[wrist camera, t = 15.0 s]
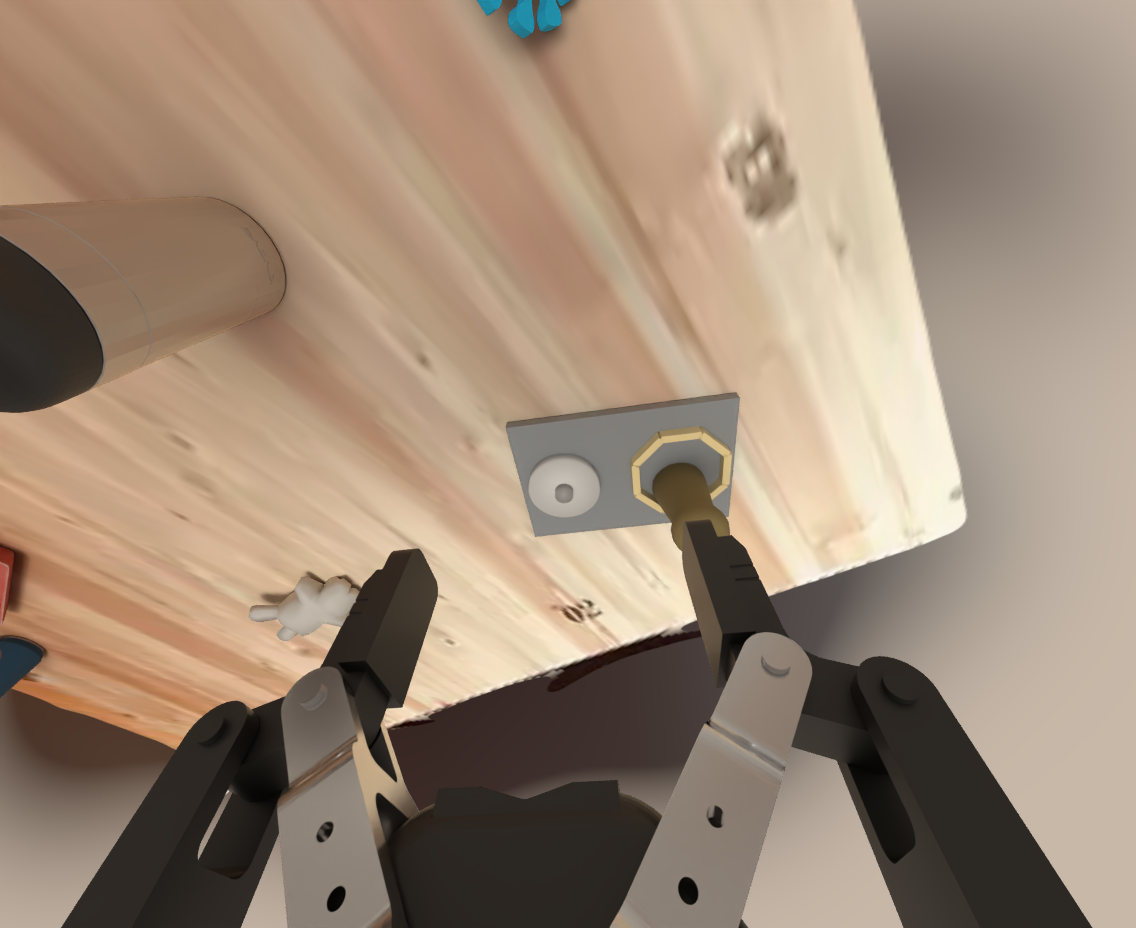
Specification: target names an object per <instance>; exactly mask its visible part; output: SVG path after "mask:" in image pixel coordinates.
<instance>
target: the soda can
mask: <svg viewBox="0 0 1136 928" xmlns="http://www.w3.org/2000/svg"><path fill="white" fill-rule="evenodd" d="M43 653H44V649H43V648H42V647H41V646H40V645H38V644H37V643H35V642H33V641H31V640H28V639H25V638H21V637H16V636H7V637H4V638H1V639H0V698H1V697H2V696H3V695H4V694H5V693H6V692H7V691H8V690H10V689H11V688H12V687H13V686H14V685H15V684H16V683H17V682H18V681H20V680H21V679H22V678H23V677H24V676H25V675H26V674H27V673H28V672H30V671H31V670H32V669H33V668H34V667H35V666H36V665H37V664H38V663H39V662H40V661H41V659H42V656H43Z"/></svg>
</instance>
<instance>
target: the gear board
mask: <svg viewBox="0 0 1136 928" xmlns="http://www.w3.org/2000/svg"><path fill="white" fill-rule="evenodd" d="M739 401H740V397H739V396H738V395H737V393H729V394H722V395H714V396H706V397H699V398H691V399H684V400H676V401H668V402H661V403H653V404H645V405H638V406H630V407H622V408H615V409H607V410H600V411H592V412H584V413H577V414H569V415H561V416H554V417H546V418H539V419H531V420H523V421H516V422H508V423H507V426H506V431H507V434H508V438H509V442H510V445H511V449H512V453H513V456H514V460H515V464H516V467H517V471H518V475H519V479H520V482H521V486H522V490H523V493H524V497H525V501H526V504H527V508H528V512H529V515H530V519H531V523H532V526H533V530H534V534H535V537H537V536H546V535H556V534H566V533H575V532H585V531H594V530H604V529H613V528H623V527H633V526H642V525H652V524H661V523H671V521H670V520H669V518H668V517H667V516H666V514H665V513H664V511H663V510H662V508H661V507H660V505H659V504H658V502H657V501H656V499H655V498H654V495H653V491H652V487H653V481H654V479H655V477H656V475H657V474H658V473H659V472H660V471H661V470H662V469H663V468H665V467H667V466H669V465H671V464H675V463H688V464H691V465H694V466H696V467H697V468H698V469H699V470H701V472H702V473H703V475H704V477H705V479H706V483H707V486H708V489H709V492H710V495H711V499H712V502H713V505H714V506H715V507H717V508H718V509H719V510H720V511H722V512H723V514H724V515H725V517H729V507H730V496H731V485H732V475H733V464H734V454H735V443H736V433H737V422H738V412H739Z"/></svg>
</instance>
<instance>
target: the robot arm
mask: <svg viewBox="0 0 1136 928" xmlns="http://www.w3.org/2000/svg"><path fill="white" fill-rule="evenodd" d="M284 290H285V273H284V268H283V264H282V261H281V259H280V256H279V254H278V252H277V250H276V248H275V246H274V245H273V243H272V241H271V240H270V238H269V237H268V236H267V235H266V233H265V232H264V231H263V230H262V228H261V227H260V226H259V225H258V224H257V223H255V222H254V221H253V220H252V219H251V218H250V217H249V216H248V215H246V214H245V213H243V212H242V211H240V210H239V209H238V208H236V207H234V206H232V205H230V204H228V203H226V202H224V201H221V200H217V199H213V198H209V197H182V198H153V199H132V200H110V201H89V202H67V203H46V204H24V205H3V206H0V412H9V413H21V412H29V411H35V410H40V409H44V408H47V407H50V406H53V405H56V404H58V403H61V402H63V401H66V400H68V399H70V398H72V397H75V396H77V395H79V394H82V393H84V392H86V391H89V390H91V389H93V388H95V387H98V386H100V385H102V384H105V383H107V382H109V381H112V380H114V379H116V378H118V377H121V376H123V375H125V374H128V373H130V372H132V371H134V370H136V369H138V368H141V367H143V366H145V365H148V364H150V363H152V362H155V361H157V360H159V359H161V358H164V357H166V356H168V355H171V354H173V353H175V352H178V351H180V350H182V349H185V348H187V347H189V346H191V345H194V344H196V343H198V342H201V341H203V340H205V339H208V338H210V337H212V336H214V335H217V334H219V333H221V332H224V331H226V330H228V329H231V328H233V327H235V326H238V325H240V324H243V323H245V322H247V321H249V320H251V319H254V318H256V317H258V316H260V315H263V314H265V313H267V312H269V311H272V310H273V309H274V308H275V307H276V306H277V305H278V304H279V302H280V301H281V299H282V297H283V294H284ZM682 560H683V569H684V574H685V578H686V582H687V585H688V589H689V592H690V596H691V599H692V603H693V606H694V610H695V613H696V617H697V620H698V624H699V627H700V631H701V634H702V638H703V641H704V645H705V648H706V652H707V655H708V659H709V662H710V666H711V669H712V673H713V677H714V680H715V683H716V687H717V688H720V687H725V688H724V690H723V693H722V695H721V697H720V699H719V702H718V704H717V706H716V709H715V711H714V713H713V715H712V717H711V719H710V720H709V721H707V722H706V723H705V725H704V726H703V728H702V730H701V732H700V734H699V736H698V738H697V740H696V743H695V745H694V747H693V749H692V751H691V754H690V756H689V758H688V760H687V763H686V765H685V767H684V769H683V771H682V774H681V776H680V778H679V780H678V783H677V785H676V787H675V789H674V792H673V794H672V796H671V798H670V801H669V803H668V805H667V807H666V809H665V812H664V814H663V816H662V815H661V814H660V813H658V812H657V811H656V810H655V809H654V808H652V807H651V806H649V805H648V804H646V803H644V802H643V801H641V800H639V799H636V798H635V797H632V796H630V795H626V794H623V793H620V789H619V784H618V780H610V781H589V782H572V783H569V784H566V785H564V786H561V787H559V788H556V789H553V790H551V791H548V792H545V793H543V794H540V795H537V796H534V797H532V798H529V799H520V798H517V797H513V796H510V795H507V794H503V793H500V792H497V791H493V790H490V789H487V788H483V787H467V788H466V787H465V788H444V789H438V792H437V797H436V802H435V804H433V805H431V806H429V807H427V808H425V809H423V810H422V811H420V812H419V811H418V809H417V807H416V805H415V803H414V801H413V799H412V798H411V796H410V794H409V793H408V791H407V788H406V786H405V784H404V781H403V778H402V775H401V772H400V769H399V766H398V763H397V760H396V757H395V754H394V751H393V748H392V745H391V742H390V739H389V736H388V733H387V729H386V726H385V724H384V722H383V721H382V720H383V717H384V714H385V711H386V709H387V708H401V707H403V704H404V700H405V697H406V694H407V691H408V688H409V685H410V682H411V679H412V676H413V673H414V669H415V666H416V663H417V660H418V657H419V654H420V651H421V648H422V645H423V641H424V638H425V635H426V632H427V629H428V626H429V623H430V620H431V617H432V614H433V610H434V607H435V604H436V601H437V596H438V586H437V582H436V579H435V577H434V575H433V573H432V571H431V569H430V567H429V565H428V563H427V561H426V559H425V557H424V555H423V553H422V551H421V550H420V549H408V550H399V551H393V552H392V553H391V554H390V555H389V557H388V559H387V561H386V564H385V566H384V568H383V569H381V570H376V571H375V573H374V574H373V575H372V576H371V577H370V578H369V579H368V580H367V581H366V582H365V583H364V584H363V586H362V588H361V590H360V592H359V594H358V596H357V598H356V603H354V604H353V606H352V608H351V610H350V611H349V616H347V617H346V619H345V621H344V623H343V625H342V627H341V629H340V631H339V633H338V635H337V637H336V639H335V641H334V643H333V644H332V646H331V648H330V650H329V652H328V654H327V656H326V658H325V660H324V662H323V664H322V665H321V667H320V668H318V669H315V670H313V671H311V672H309V673H308V674H306V675H305V676H303V677H302V678H301V679H300V680H298V681H297V682H296V683H295V684H294V686H293V687H292V688H291V689H290V690H289V692H288V693H287V695H286V696H285V697H282V698H280V699H277V700H275V701H272V702H270V703H267V704H264V705H262V706H259V707H257V708H254V709H252V710H251V709H250V708H249V707H247V706H246V705H245V704H244V703H242V702H240V701H230V702H226V703H224V704H221V705H219V706H217V707H215V708H214V709H212V710H210V711H209V712H208V713H206V714H205V715H204V716H203V717H202V718H200V719H199V720H198V721H197V722H196V723H195V724H194V725H193V727H192V728H191V729H190V730H189V732H188V733H187V734H186V736H185V737H184V739H183V740H182V742H181V743H180V745H179V747H178V748H177V750H176V751H175V753H174V754H173V756H172V757H171V759H170V760H169V762H168V764H167V765H166V767H165V768H164V770H163V771H162V773H161V774H160V776H159V778H158V779H157V781H156V782H155V784H154V785H153V787H152V789H151V790H150V791H149V793H148V795H147V796H146V797H145V799H144V801H143V802H142V804H141V805H140V807H139V808H138V810H137V811H136V813H135V814H134V816H133V818H132V819H131V821H130V822H129V824H128V825H127V827H126V828H125V830H124V831H123V833H122V835H121V836H120V838H119V839H118V841H117V842H116V844H115V846H114V847H113V849H112V850H111V852H110V853H109V855H108V856H107V858H106V859H105V861H104V862H103V864H102V865H101V867H100V869H99V870H98V872H97V873H96V875H95V876H94V878H93V879H92V881H91V882H90V884H89V885H88V887H87V888H86V890H85V892H84V893H83V895H82V896H81V898H80V899H79V901H78V902H77V904H76V906H75V907H74V909H73V910H72V912H71V913H70V915H69V916H68V918H67V919H66V921H65V923H64V924H63V926H62V927H61V928H241V925H242V923H243V920H244V918H245V915H246V913H247V911H248V908H249V906H250V903H251V901H252V898H253V896H254V893H255V891H256V888H257V886H258V884H259V881H260V879H261V876H262V874H263V871H264V868H265V866H266V864H267V861H268V859H269V856H270V854H271V852H272V849H273V847H274V844H275V841H276V839H277V837H278V834H279V837H280V848H281V859H282V870H283V881H284V892H285V902H286V912H287V913H286V914H287V924H288V928H748V927H747V926H746V924H745V923H744V922H743V920H742V919H741V917H742V913H743V910H744V907H745V903H746V900H747V897H748V893H749V890H750V887H751V883H752V880H753V876H754V873H755V870H756V866H757V863H758V860H759V856H760V853H761V850H762V846H763V842H764V839H765V836H766V833H767V829H768V826H769V822H770V819H771V815H772V812H773V809H774V806H775V802H776V799H777V795H778V792H779V789H780V785H781V782H782V778H783V774H784V770H785V765H786V762H787V758H788V755H789V751H790V748H791V747H794V748H798V749H801V750H804V751H808V752H811V753H815V754H817V755H821V756H825V757H828V758H831V759H835V760H837V762H838V765H839V767H840V770H841V772H842V775H843V777H844V780H845V782H846V785H847V787H848V790H849V792H850V795H851V797H852V800H853V802H854V805H855V807H856V810H857V812H858V815H859V817H860V820H861V822H862V825H863V827H864V830H865V832H866V835H867V837H868V840H869V842H870V845H871V847H872V850H873V852H874V855H875V857H876V860H877V862H878V865H879V867H880V870H881V872H882V875H883V877H884V880H885V882H886V885H887V887H888V890H889V892H890V895H891V897H892V900H893V902H894V905H895V907H896V910H897V912H898V915H899V917H900V920H901V922H902V925H903V927H904V928H1092V927H1091V925H1090V923H1089V922H1088V920H1087V919H1086V917H1085V916H1084V914H1083V913H1082V911H1081V910H1080V908H1079V907H1078V905H1077V903H1076V902H1075V900H1074V899H1073V897H1072V896H1071V894H1070V893H1069V891H1068V890H1067V888H1066V887H1065V885H1064V884H1063V882H1062V881H1061V879H1060V877H1059V876H1058V874H1057V873H1056V871H1055V870H1054V868H1053V867H1052V865H1051V864H1050V862H1049V860H1048V859H1047V857H1046V856H1045V854H1044V853H1043V851H1042V850H1041V848H1040V847H1039V845H1038V844H1037V842H1036V841H1035V839H1034V837H1033V836H1032V834H1031V833H1030V831H1029V830H1028V829H1027V827H1026V825H1025V824H1024V822H1023V821H1022V819H1021V818H1020V816H1019V814H1018V813H1017V811H1016V810H1015V808H1014V807H1013V805H1012V804H1011V802H1010V801H1009V799H1008V797H1007V796H1006V794H1005V793H1004V791H1003V790H1002V788H1001V787H1000V785H999V784H998V782H997V781H996V779H995V778H994V776H993V774H992V773H991V771H990V770H989V768H988V767H987V765H986V764H985V762H984V761H983V759H982V758H981V756H980V754H979V753H978V751H977V750H976V749H975V747H974V745H973V744H972V742H971V741H970V739H969V738H968V736H967V734H966V733H965V731H964V730H963V728H962V727H961V725H960V724H959V722H958V721H957V719H956V718H955V716H954V715H953V713H952V711H951V710H950V708H949V707H948V706H947V704H946V702H945V701H944V700H943V698H942V696H941V695H940V693H939V692H938V690H937V689H936V687H935V686H934V684H933V683H932V682H931V681H930V680H929V679H928V678H927V677H926V676H925V675H924V674H923V673H921V672H920V671H918V670H917V669H916V668H914V667H912V666H911V665H909V664H907V663H905V662H902V661H900V660H897V659H894V658H890V657H881V656H878V657H872V658H868V659H866V660H865V661H863V662H862V663H861V664H860V666H854V665H850V664H845V663H840V662H836V661H832V660H827V659H823V658H819V657H817V656H815V655H812V654H810V653H808V652H806V651H805V650H803V649H802V648H801V647H800V646H799V645H797V644H796V643H795V642H794V641H792V640H791V639H790V638H789V636H788V635H787V634H786V632H785V630H784V629H783V627H782V625H781V622H780V620H779V618H778V616H777V614H776V612H775V610H774V607H773V605H772V603H771V601H770V599H769V597H768V595H767V593H766V591H765V588H764V586H763V584H762V582H761V580H759V576H758V574H757V571H756V569H755V567H753V563H752V561H751V559H750V557H749V555H748V552H747V550H746V548H745V547H744V546H743V545H742V544H740V543H739V542H738V541H737V540H736V539H735V538H734V537H733V536H732V535H729V536H719V537H718V536H717V534H716V531H715V529H714V527H713V524H712V522H711V520H710V519H704V520H695V521H685V522H683V537H682ZM228 790H229V791H231V792H232V795H231V797H230V799H229V801H228V803H227V805H226V807H225V809H224V811H223V813H222V815H221V817H220V819H219V821H218V823H217V824H216V827H215V828H214V831H213V832H212V834H211V836H210V838H209V840H208V842H207V844H206V846H205V848H204V850H203V852H202V854H201V856H200V858H199V860H198V850H199V846H200V843H201V841H202V839H203V837H204V835H205V833H206V831H207V829H208V827H209V825H210V823H211V821H212V819H213V817H214V816H215V814H216V812H217V810H218V808H219V806H220V804H221V802H222V800H223V798H224V796H225V794H226V792H227V791H228Z"/></svg>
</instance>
